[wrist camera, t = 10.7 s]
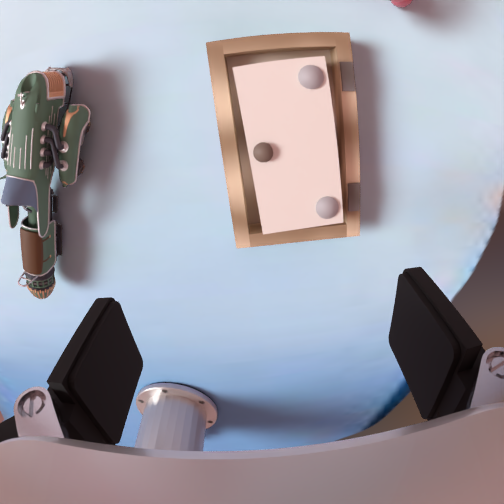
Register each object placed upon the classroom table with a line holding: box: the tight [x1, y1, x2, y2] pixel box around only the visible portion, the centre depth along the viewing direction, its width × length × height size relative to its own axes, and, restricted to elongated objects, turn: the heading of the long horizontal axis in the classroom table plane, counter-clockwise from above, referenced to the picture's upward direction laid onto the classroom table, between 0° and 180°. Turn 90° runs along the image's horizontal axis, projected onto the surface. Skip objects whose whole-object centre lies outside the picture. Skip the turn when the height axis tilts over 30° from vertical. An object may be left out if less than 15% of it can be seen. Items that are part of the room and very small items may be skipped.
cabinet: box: [206, 32, 360, 248], centre depth 25 cm, size 17×11×3 cm, turn 7°
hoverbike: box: [0, 67, 91, 299], centre depth 25 cm, size 10×25×8 cm, turn 164°
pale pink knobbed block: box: [232, 56, 343, 234], centre depth 24 cm, size 13×6×4 cm, turn 10°
